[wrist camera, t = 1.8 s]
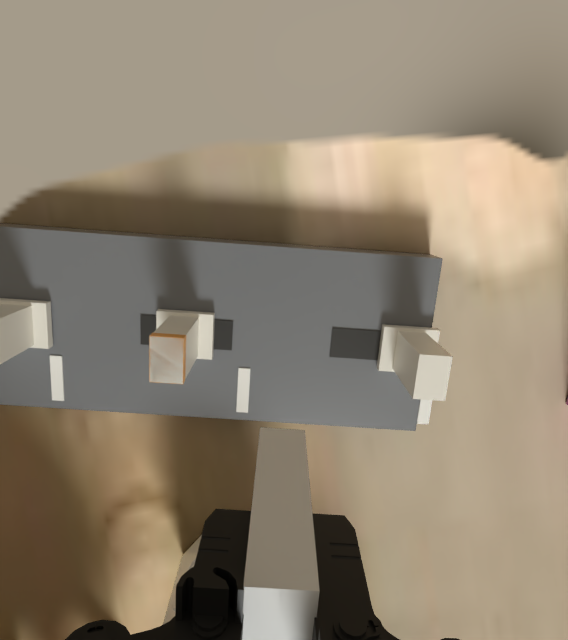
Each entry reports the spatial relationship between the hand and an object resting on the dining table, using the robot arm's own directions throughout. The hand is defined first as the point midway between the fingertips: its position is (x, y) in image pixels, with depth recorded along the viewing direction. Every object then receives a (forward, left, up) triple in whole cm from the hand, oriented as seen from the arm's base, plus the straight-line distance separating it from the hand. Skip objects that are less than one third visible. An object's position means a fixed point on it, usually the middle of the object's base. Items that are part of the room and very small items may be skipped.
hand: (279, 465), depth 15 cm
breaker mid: (-6, 0, -15) cm, 16 cm away
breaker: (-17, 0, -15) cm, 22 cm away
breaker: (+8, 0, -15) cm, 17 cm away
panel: (-6, 0, -18) cm, 19 cm away
